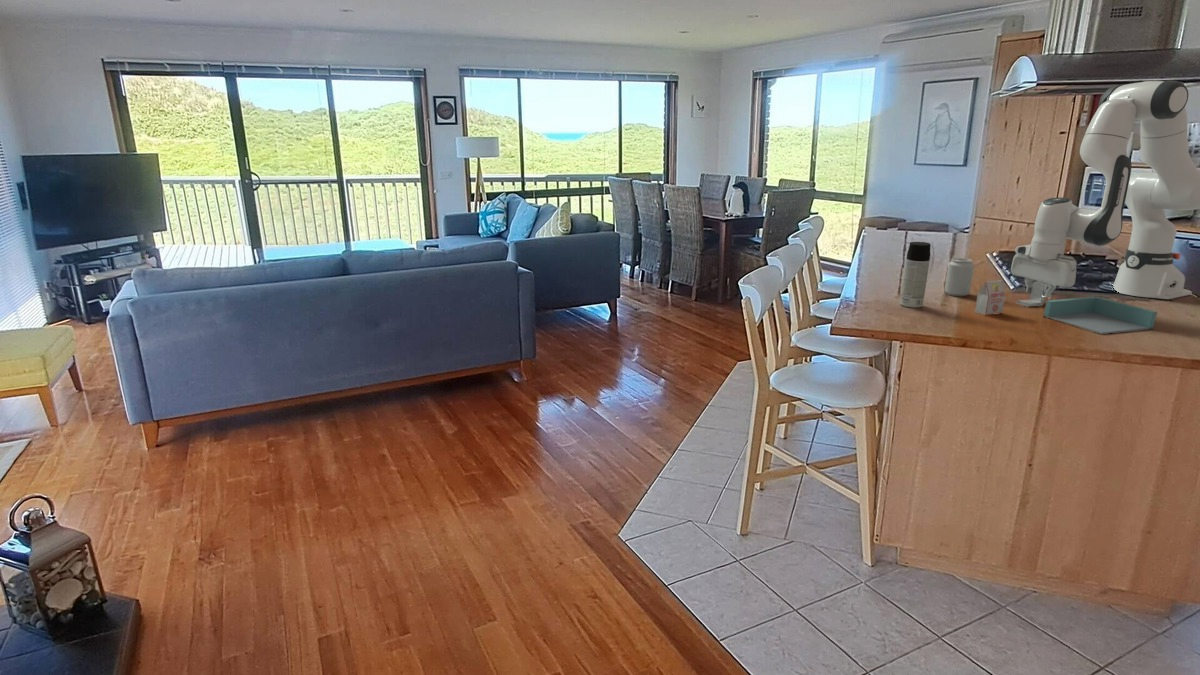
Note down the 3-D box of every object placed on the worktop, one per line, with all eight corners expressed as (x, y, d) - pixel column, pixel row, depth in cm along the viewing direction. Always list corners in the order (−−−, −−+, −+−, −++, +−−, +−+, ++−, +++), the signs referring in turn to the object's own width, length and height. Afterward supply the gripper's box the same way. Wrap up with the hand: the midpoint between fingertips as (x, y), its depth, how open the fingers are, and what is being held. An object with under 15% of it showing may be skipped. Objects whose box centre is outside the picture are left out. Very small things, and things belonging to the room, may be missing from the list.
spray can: (922, 304, 209) (931, 242, 202) (923, 309, 203) (932, 245, 197) (900, 302, 211) (908, 240, 205) (899, 307, 205) (908, 244, 199)
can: (972, 297, 215) (978, 261, 212) (947, 296, 217) (953, 261, 213) (965, 292, 222) (970, 257, 219) (941, 291, 224) (946, 256, 220)
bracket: (1032, 302, 208) (1036, 281, 206) (1042, 305, 204) (1047, 284, 202) (1016, 304, 207) (1020, 282, 205) (1027, 307, 203) (1031, 285, 201)
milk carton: (974, 312, 198) (979, 280, 195) (991, 310, 200) (997, 278, 197) (984, 316, 195) (990, 283, 192) (1001, 313, 197) (1007, 281, 194)
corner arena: (1091, 312, 197) (1095, 296, 195) (1152, 329, 180) (1157, 311, 179) (1043, 317, 193) (1046, 300, 191) (1100, 334, 176) (1105, 317, 175)
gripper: (1086, 257, 192) (1076, 302, 196) (1027, 245, 211) (1019, 287, 215) (1068, 258, 191) (1059, 303, 195) (1011, 246, 210) (1003, 288, 214)
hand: (1037, 294), depth 205 cm, fingers open, 5 cm apart
